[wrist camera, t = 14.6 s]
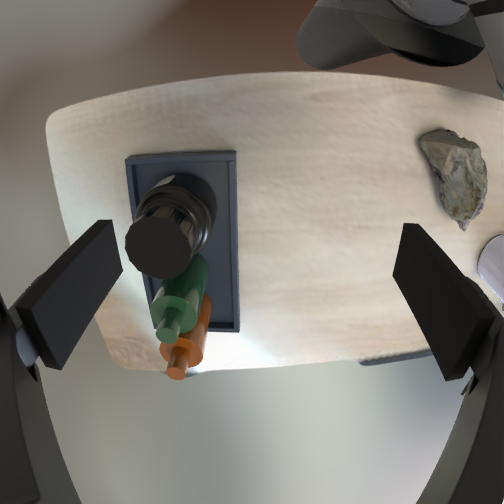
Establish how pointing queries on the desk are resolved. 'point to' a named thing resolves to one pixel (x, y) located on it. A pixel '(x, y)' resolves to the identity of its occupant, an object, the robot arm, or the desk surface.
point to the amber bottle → (188, 344)
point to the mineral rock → (457, 174)
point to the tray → (223, 232)
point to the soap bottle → (493, 265)
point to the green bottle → (180, 301)
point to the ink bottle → (171, 226)
